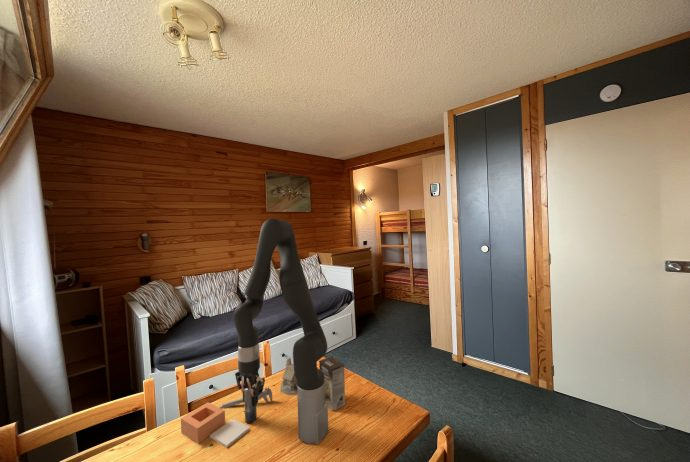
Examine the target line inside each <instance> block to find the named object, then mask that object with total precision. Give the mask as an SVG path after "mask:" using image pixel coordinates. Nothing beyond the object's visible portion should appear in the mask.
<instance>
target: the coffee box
mask: <svg viewBox="0 0 690 462" xmlns="http://www.w3.org/2000/svg"><path fill="white" fill-rule="evenodd" d="M318 362H319V363H318V365H319V368H318V369H320V370H321V371H322V372H323V373H324V385H325V404H327V405H328V409H330V410H331V411H332V412H333V411H336V410H338V409H339V408H341V407H344V406H345V405H346V395H345V394H346V391H345V389H346V388H345V385H346V384H345V383H346V381H345V364H344V363H343V362H341V361H339V360H338V359H336V358H334V357H333V356H330V357H326V358H324V359H319V360H318Z"/></svg>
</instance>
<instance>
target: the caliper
mask: <svg viewBox="0 0 690 462" xmlns="http://www.w3.org/2000/svg"><path fill="white" fill-rule="evenodd" d="M268 397H269V401H270V403H272V402H273V392H272V388H270V387H269V386H267V387H264V389H263V391H262V393H261V394H259V395H258V401H260V400H261V399H263V401H264V402H265V403H266V404H267V403H268V402H269V401H268ZM243 403H244V402H243V397H241V398H238V399H234V400H230V401H228V402H225V403H222V405H220V406H218V407H219V408H221V409H227V408H230V407H233V406H236V405H240V404H243ZM244 404H245V403H244Z"/></svg>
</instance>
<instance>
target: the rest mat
mask: <svg viewBox="0 0 690 462" xmlns="http://www.w3.org/2000/svg"><path fill="white" fill-rule="evenodd" d="M250 429H251V427H250V426H248V425H247V424H245V423H242V422H240V421H238V420H236V419H235V418H232V419H230V420H229V421H228V422H225V425H223V426H222V427H221V428H219V429H218V430H216V431H215V432H214V433H212V434H211V435H209V438H210V439H212V440H213V441H215V442H216V443H218V444H220V445H221V446H223V447H225V448H226V449H227V448H228V447H230V446H231V445H233V444H234V443H235V442H236V441H237V440H239V439H240V438H242V436H244V435H245V434H246V433H247V432H248V431H251V430H250Z"/></svg>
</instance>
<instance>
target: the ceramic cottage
mask: <svg viewBox="0 0 690 462" xmlns="http://www.w3.org/2000/svg"><path fill="white" fill-rule="evenodd" d="M284 369H285V370H284V372H283V374H282V376H281V378H282V381H281V384H280V387H279V390H280V392H281V393H283V394H285V395H289V396H292V395H297V380H296V377H295V374H294V364H293V363H292V359H291V357H287V358H286V363H285V368H284ZM317 369H319V368H318V367H317Z"/></svg>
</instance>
